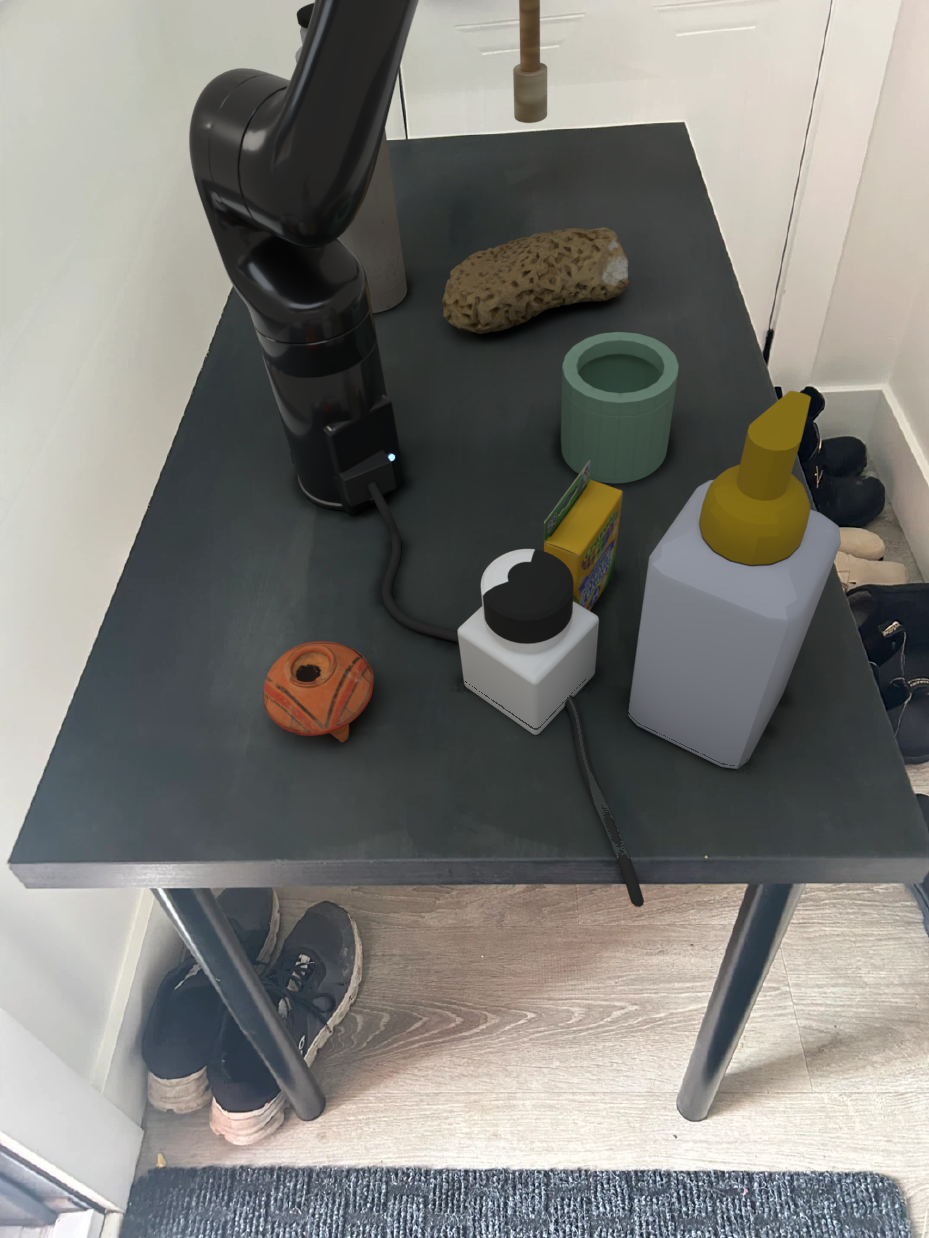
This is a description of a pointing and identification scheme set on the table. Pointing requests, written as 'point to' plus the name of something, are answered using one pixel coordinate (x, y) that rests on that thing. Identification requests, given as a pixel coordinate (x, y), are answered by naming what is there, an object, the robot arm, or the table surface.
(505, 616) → the medicine bottle
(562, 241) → the sponge
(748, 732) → the soap bottle
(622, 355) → the jar
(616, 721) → the table surface
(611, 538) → the crayon box
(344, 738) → the pot
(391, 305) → the thermos bottle
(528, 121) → the wooden peg on base
